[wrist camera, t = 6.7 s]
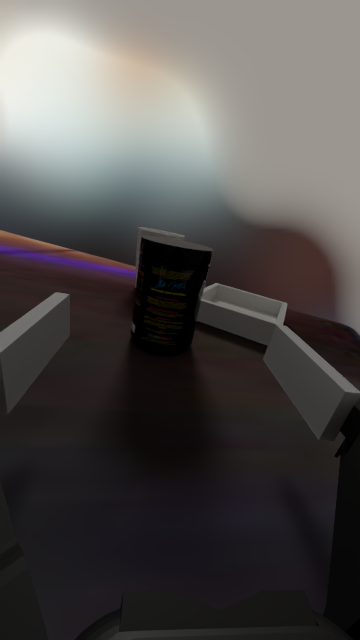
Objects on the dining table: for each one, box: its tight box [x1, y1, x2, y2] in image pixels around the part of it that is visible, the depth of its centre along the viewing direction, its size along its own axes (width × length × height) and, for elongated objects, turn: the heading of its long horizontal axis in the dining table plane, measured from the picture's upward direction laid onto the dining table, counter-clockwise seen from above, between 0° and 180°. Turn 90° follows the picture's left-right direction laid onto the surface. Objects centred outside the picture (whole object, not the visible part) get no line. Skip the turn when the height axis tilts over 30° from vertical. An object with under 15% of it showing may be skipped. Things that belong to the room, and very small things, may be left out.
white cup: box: [135, 227, 185, 288], centre depth 42 cm, size 8×8×10 cm
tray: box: [197, 283, 287, 346], centre depth 37 cm, size 13×13×3 cm
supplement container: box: [131, 236, 213, 355], centre depth 24 cm, size 7×7×10 cm
